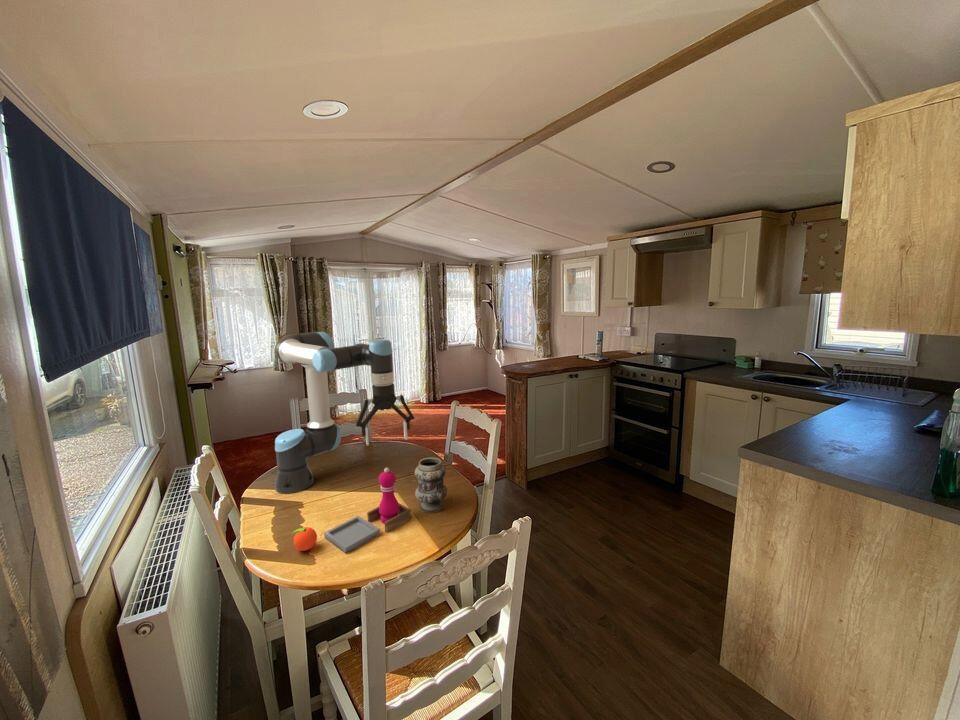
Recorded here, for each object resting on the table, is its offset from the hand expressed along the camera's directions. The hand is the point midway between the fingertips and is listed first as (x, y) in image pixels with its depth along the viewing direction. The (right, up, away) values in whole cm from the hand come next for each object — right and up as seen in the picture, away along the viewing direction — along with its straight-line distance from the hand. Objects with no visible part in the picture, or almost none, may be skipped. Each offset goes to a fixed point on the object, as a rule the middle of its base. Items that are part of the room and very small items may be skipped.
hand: (387, 441), depth 144 cm
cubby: (+1, -28, 0) cm, 28 cm away
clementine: (-23, -32, -15) cm, 42 cm away
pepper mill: (+1, -29, 0) cm, 29 cm away
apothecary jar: (+15, -27, +9) cm, 32 cm away
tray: (-9, -30, -9) cm, 33 cm away
